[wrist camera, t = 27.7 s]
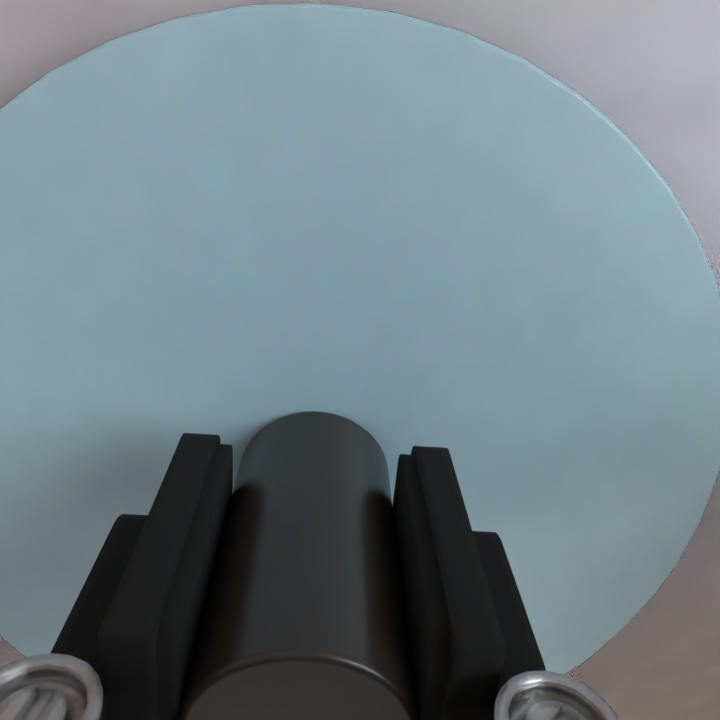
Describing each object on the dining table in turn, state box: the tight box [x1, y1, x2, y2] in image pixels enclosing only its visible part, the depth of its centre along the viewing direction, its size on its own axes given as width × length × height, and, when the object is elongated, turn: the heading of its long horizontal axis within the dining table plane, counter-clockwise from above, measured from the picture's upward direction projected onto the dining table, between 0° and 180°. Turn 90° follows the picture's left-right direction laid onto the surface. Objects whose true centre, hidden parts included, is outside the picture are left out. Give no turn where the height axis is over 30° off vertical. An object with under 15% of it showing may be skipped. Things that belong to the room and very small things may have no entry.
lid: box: [0, 3, 720, 720], centre depth 10 cm, size 15×15×6 cm
